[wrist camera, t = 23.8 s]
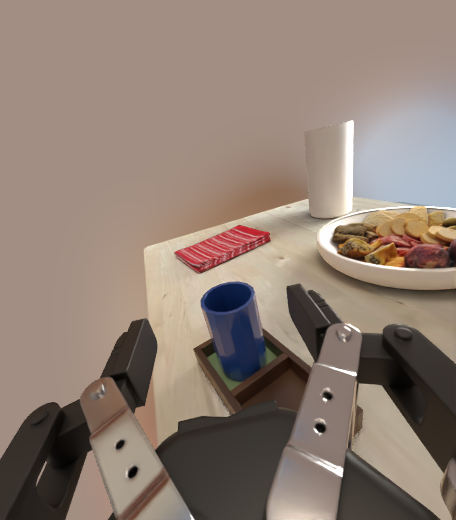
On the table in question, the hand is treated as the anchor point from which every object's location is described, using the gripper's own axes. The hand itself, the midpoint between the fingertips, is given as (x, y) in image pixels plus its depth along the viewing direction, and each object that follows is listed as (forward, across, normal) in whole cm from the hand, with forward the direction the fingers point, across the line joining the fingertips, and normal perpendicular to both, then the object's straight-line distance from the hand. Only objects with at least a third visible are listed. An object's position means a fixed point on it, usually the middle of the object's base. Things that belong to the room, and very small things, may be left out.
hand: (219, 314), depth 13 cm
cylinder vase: (+61, -38, +17) cm, 74 cm away
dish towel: (+52, -1, +17) cm, 55 cm away
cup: (+11, 0, +16) cm, 19 cm away
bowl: (+28, -34, +17) cm, 47 cm away
